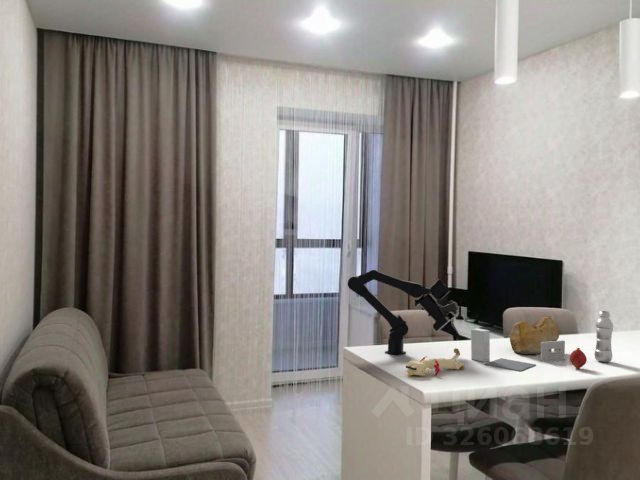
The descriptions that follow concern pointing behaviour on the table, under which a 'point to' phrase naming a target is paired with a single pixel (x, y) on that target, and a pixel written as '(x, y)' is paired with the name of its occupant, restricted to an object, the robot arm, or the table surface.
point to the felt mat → (510, 364)
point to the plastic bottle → (603, 337)
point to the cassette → (552, 355)
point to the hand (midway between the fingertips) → (459, 336)
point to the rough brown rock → (533, 335)
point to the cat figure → (433, 365)
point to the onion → (577, 358)
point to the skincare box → (480, 345)
